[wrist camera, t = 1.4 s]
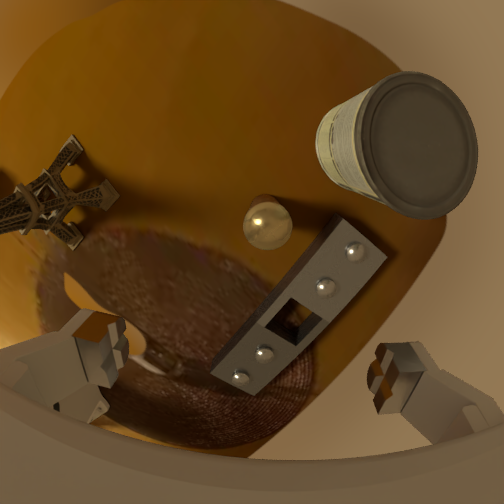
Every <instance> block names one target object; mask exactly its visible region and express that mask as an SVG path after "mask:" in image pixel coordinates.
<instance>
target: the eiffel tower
mask: <svg viewBox="0 0 504 504" xmlns="http://www.w3.org/2000/svg"><path fill="white" fill-rule="evenodd" d="M83 150H84V149H83V148H82V146H81V145H80V144H79V142H78V141H77V140H76V138H75V137H74V135H71V136H70V138H69V139H68V140H67V142H66V143H65V144H64V146H63V147H62V148H61V150H60V153H59V154H58V156H57V157H56V159H55V160H54V162H53V163H52V165H51V166H50V168H49V169H48V170H46V169H43V171H42V173H41V175H40V176H39V177H38V178H37V179H36V180H34V181H33V182H31V183H29V184H28V185H26V186H24V185H23V184H22V183H20V184H19V185H17V186H16V188H15V191H14V193H13V194H11V195H9V196H7V197H5V198H3V199H1V200H0V234H4V233H8V232H12V231H17V230H19V231H20V233H21V235H27V233H28V232H29V231H30V230H31V229H42V230H44V232H45V233H46V234H47V233H48V232H49V231H51V232H52V233H53V234H55V235H56V236H57V237H58V238H60V239H61V240H62V241H64V242H65V243H66V244H68V245H69V247H70V248H71V249H72V251H73V250H74V249H75V248H76V247H77V245H78V244H79V243H80V242H81V240H82V239H83V238H84V237H83V235H82V234H81V233H80V232H79V230H78V229H77V228H76V226H75V225H74V224H73V223H72V222H69V224H68V225H67V224H66V223H65V222H63V219H64V217H65V216H66V215H67V213H68V212H69V211H70V210H71V209H72V208H73V207H74V206H75V205H76V204H77V205H84V206H91V207H98V208H101V209H104V210H105V212H106V211H107V210H108V209H109V208H110V207H111V206H112V205H113V203H114V202H115V201H116V200H117V199H118V198H119V197H120V195H119V194H118V192H117V191H116V190H115V189H114V187H113V186H112V185H111V184H110V182H109V181H108V180H107V179H106V180H105V181H104V182H102V183H101V184H100V185H99V186H97V187H94V188H91V189H88V190H85V191H82V192H79V193H77V194H76V193H75V192H73V191H72V190H71V189H69V188H68V187H67V186H66V185H65V183H64V182H63V180H62V178H61V175H60V173H61V172H62V170H63V169H64V168H65V166H66V165H67V164H68V166H71V165H72V164H73V163H74V161H75V160H76V159H77V157H78V156H79V155H80V154H81V153H82V151H83ZM48 186H49V187H50V189H51V190H52V191H53V193H54V194H55V196H56V197H57V198H55V199H51V200H48V201H46V200H47V198H48V197H49V195H50V194H51V193H50V191H49V190H48V188H47V187H48ZM51 211H53V213H52V214H51Z"/></svg>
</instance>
